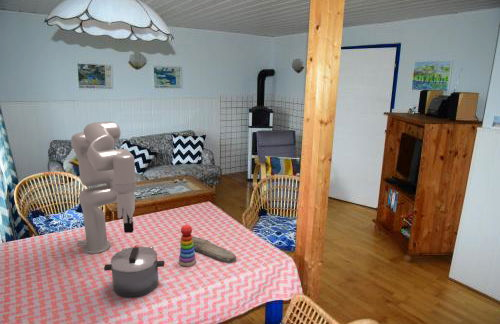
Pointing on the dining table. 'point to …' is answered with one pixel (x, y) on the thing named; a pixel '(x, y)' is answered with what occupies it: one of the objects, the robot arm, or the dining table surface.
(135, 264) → the cooker lid
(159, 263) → the cooker pot
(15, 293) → the dining table surface
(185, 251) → the stacking toy
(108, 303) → the dining table surface
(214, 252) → the elongated rock
